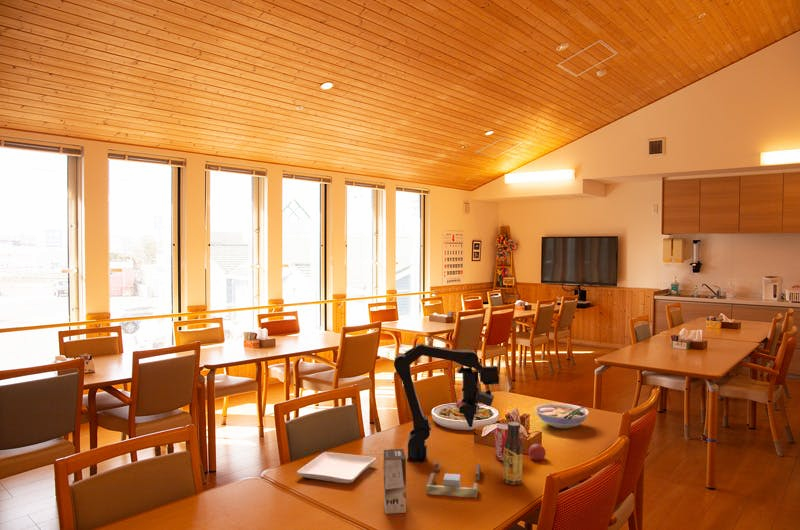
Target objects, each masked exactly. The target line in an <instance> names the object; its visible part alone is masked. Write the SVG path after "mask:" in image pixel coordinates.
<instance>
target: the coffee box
mask: <svg viewBox="0 0 800 530" xmlns="http://www.w3.org/2000/svg"><path fill="white" fill-rule="evenodd" d="M406 469H407V457H406V454H405V450H404V449H403V448H390V449H383V503H384V505H383V506H384V513H385V514H386V515H388V514H406V513H407V489H406V488H407V470H406Z"/></svg>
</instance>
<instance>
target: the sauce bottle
mask: <svg viewBox="0 0 800 530" xmlns="http://www.w3.org/2000/svg"><path fill="white" fill-rule="evenodd" d="M507 425H508V436H507V439H506V442H505V445H504V457H503V461H502V462H503V463H502V464H503V465H502V469H503V470H502V477H503V478H502V480H503V482H504V483H505V484H507V485H511V486H517V485H520V484H522V482H523V481H522V479H523V457H524V456H523V455H524V454H523V453H524V452H523V446H524V445H523V443H522V440H521V438H520V429H521V423H520V422H517V421H509V422H507Z"/></svg>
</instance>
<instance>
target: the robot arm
mask: <svg viewBox="0 0 800 530" xmlns="http://www.w3.org/2000/svg"><path fill="white" fill-rule="evenodd" d="M421 357H429V358H434V359H439V360H445V361H451V362H454V363H456V364H459V365H460V367H459V368H458V369H457V373H458V374H462V388H461V392H462V398H463V399H462V398H461V399H462V402H464V403H462V404H461V405H460V407H459V413H461V414H464V416H465V418H466V421H467V423H468V425H469V427H472V425H473V420H474V415H475V414H477V411H478V409H479V406H477V404H482V405H485V406H489V407H491V406H492V404H493V402H494V398H495V397H494V394H492V390H490V389H487V390H485V391H484V390H483V391H482V390H480V386H479V383H482V385H483V386H489V385H491V386H492V385H495V386H499V384H500V376H499V367H498V366H497V365H492V366H491V365H490V366H489V365H487V366H483V364H482V363H481V362H480V361H479V356H478V354H477V353H476V351H475V350H473V349H450V348H445V347H439V346H434V345H429V344H428V345H427V344H424V343H418V344H416V346H414V347H412V348H411V349H408V350H407V351H406V352H404V353H399V354H397V355H396V356H395V358H394V361H393V367H394V369H395V371H396V373H397V375H398V377H399V379H400V381H401V382H402V385H403V389H404V392H405V393H404V394H405V395H406V399H407V402H408V406H409V409H410V413H411V416H412V424H413V429H412V430H411V431H410V432H409V434H408V442H407V457H406V462H421V463H424V462H425V461H426V459H427V457H428V445H426V440H428V439H429V437H430V436H431V431H432V425H431V424H432V423H431V422H430V421H429V415H428V414H426V415H425V414H424V412H423V410H422V408H421V404H420V401H419V398H418V394H417V391H416V387H415V385H414V380H413V377H412V368H411V367H412V366H411V365H412V364H413V363H415V362H416V361H417V360H418V359H419V358H421ZM476 403H477V404H476Z"/></svg>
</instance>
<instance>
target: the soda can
mask: <svg viewBox="0 0 800 530" xmlns="http://www.w3.org/2000/svg"><path fill="white" fill-rule="evenodd" d="M507 436H508V423H506V424H505V423H504V424H501V423H500V424H497V425H496V428H495V430H494V456H495V458H496V459H498V460H499V461H501V462H503V457H504V445H505V442H506V439H507Z"/></svg>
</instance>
